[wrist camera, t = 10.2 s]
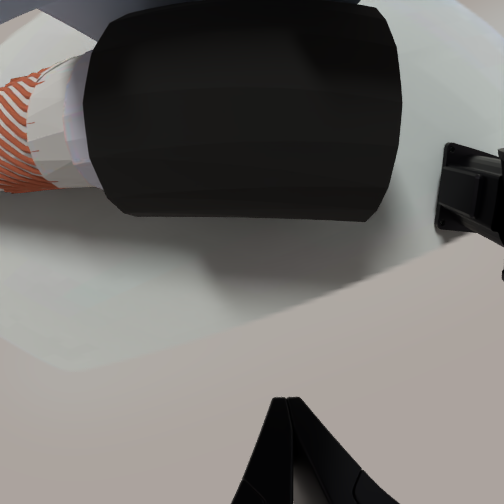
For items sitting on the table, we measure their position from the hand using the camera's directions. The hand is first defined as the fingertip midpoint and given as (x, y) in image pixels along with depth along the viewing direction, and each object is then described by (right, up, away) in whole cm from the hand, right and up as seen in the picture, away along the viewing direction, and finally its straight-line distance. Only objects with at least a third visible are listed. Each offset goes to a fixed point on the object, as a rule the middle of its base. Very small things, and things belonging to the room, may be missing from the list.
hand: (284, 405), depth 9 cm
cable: (-13, +13, +9) cm, 21 cm away
